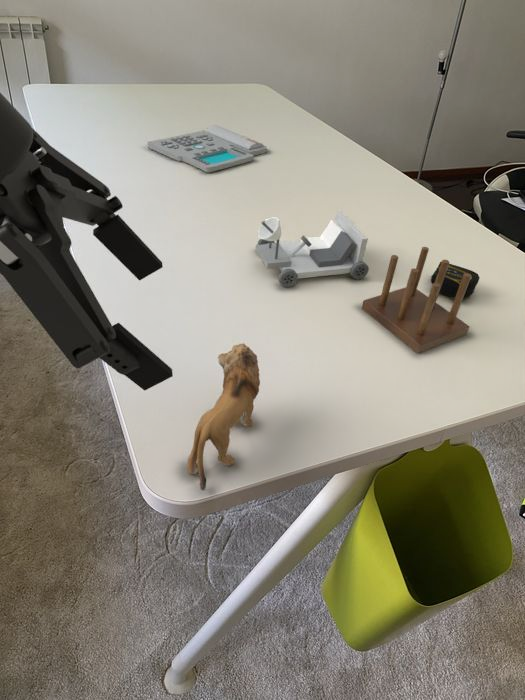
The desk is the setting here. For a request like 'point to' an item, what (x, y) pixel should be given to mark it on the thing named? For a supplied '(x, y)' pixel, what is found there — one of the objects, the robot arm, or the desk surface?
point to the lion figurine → (227, 407)
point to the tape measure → (455, 281)
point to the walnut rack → (418, 309)
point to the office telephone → (209, 148)
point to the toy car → (314, 251)
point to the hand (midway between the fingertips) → (154, 321)
